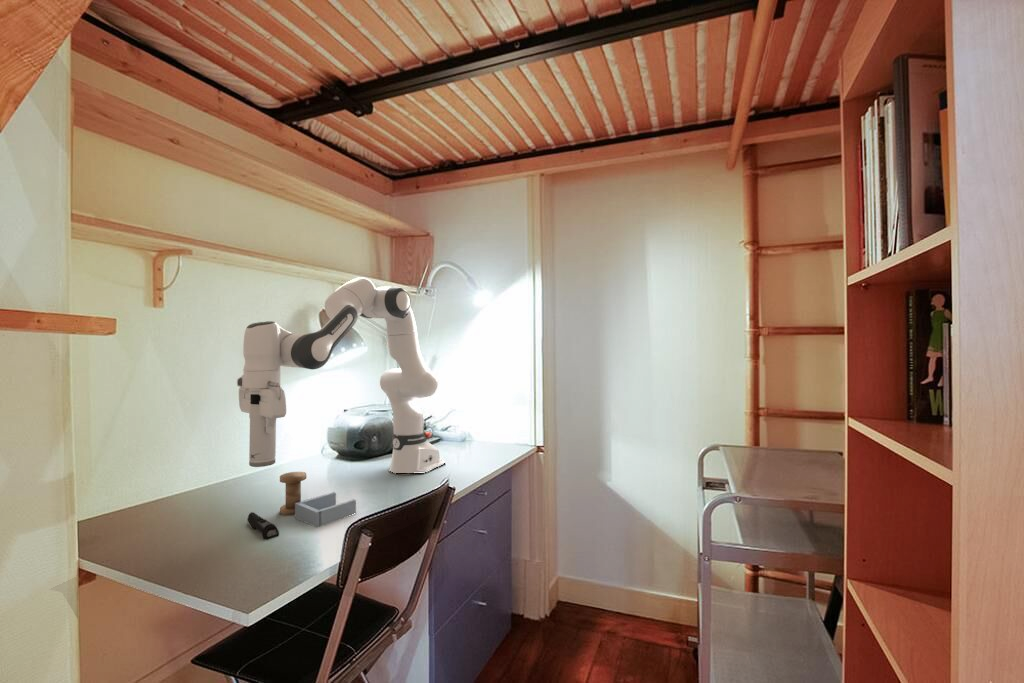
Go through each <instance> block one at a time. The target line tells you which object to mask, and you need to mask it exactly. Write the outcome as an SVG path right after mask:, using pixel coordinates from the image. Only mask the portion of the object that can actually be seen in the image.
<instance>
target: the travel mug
mask: <svg viewBox="0 0 1024 683" xmlns="http://www.w3.org/2000/svg"><path fill="white" fill-rule="evenodd" d="M250 400H251V401H250V418H249V453H248V454H249V457H248V460H249V462H248V464H249V465H248V466H250V467H254V468H262V467H268V466H269V467H270V466H272V465H274V464H276V456H277V455H276V454H277V453H276V452H277V451H276V448H277V447H276V445H277V444H276V443H277V439H276V438H277V436H276V435H277V421H276V422H275V425H274V432H273V433H270V434H267V433H265V432H264V427H266V422H267V421H266V417H264V416H260V414H259V401H261V396H259V394H251V397H250Z"/></svg>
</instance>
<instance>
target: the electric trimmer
mask: <svg viewBox="0 0 1024 683" xmlns="http://www.w3.org/2000/svg"><path fill="white" fill-rule="evenodd" d="M247 522H248V524H249V526H250V528H251V529H252V530H256V531H258V532H259V533H261V536H262V538H263V540H267V541H268V540H271V539H274V538H278V537H279V536H280V532H279V530H278V528H277V525H275V524H273V523H272V522H270V521H268V520H266V519H264V518H263V517H261V516H259V515H258V514H256V512H253V511H252V512H249V514H248V516H247Z"/></svg>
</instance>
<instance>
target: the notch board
mask: <svg viewBox="0 0 1024 683" xmlns="http://www.w3.org/2000/svg"><path fill="white" fill-rule="evenodd" d="M354 513H356V514H357V499H354V498H353V499H349V500H347V501H346V500H345V501H343V502H340V503H337V493H336V492H335V491H332V492H328V493H326V494H325V493H324V494H322V495H318V496H315V497H312V498H309V499H304V500H301V502H298V503H295V515H294V516H295V517H294V518H295V519H297V520H300V521H302V522H304V523H307V524H308V525H311V526H313V527H315V528H320V527H322V526H326V525H328V524H331V523H333V522H337V521H340V520H342V518H343V519H345V518H344V517H346V518H348V517H350V516H349V515H351V516H353V515H352V514H354ZM354 515H355V514H354ZM347 516H348V517H347ZM339 519H340V520H339Z"/></svg>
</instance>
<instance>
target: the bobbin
mask: <svg viewBox="0 0 1024 683" xmlns="http://www.w3.org/2000/svg"><path fill="white" fill-rule="evenodd" d="M306 479H307V473H306V472H305V471H290V472H286V473H283V474H281V475H280V476H279V482H280V483H281V484H282V483H283V484H285V504H284V505H281V507H279V515H281V516H295V503H298V502H301V501H302V500H301V498H302V493H301V492H302V490H301V489H302V485H301V484H302V483H301V482H303V481H305V480H306Z"/></svg>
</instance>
